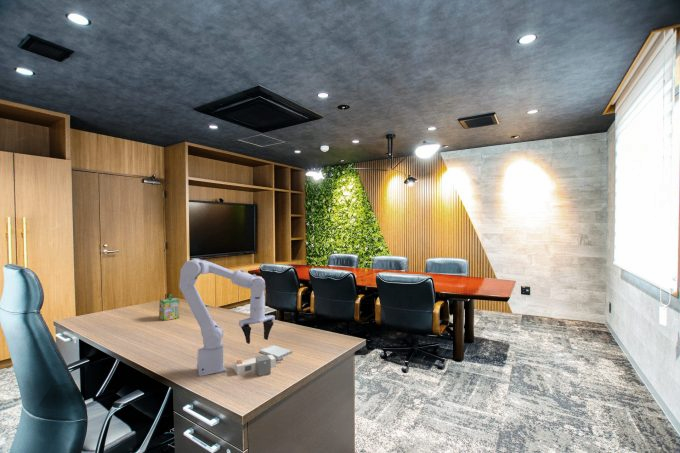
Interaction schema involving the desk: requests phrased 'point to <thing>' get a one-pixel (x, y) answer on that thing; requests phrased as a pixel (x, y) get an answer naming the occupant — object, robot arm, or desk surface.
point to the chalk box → (169, 308)
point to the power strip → (251, 365)
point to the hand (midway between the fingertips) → (257, 341)
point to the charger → (263, 365)
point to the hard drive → (276, 351)
